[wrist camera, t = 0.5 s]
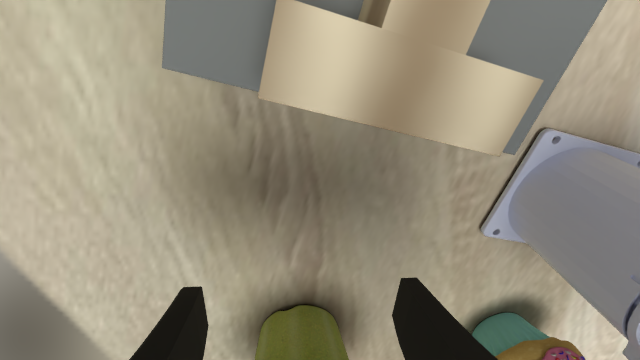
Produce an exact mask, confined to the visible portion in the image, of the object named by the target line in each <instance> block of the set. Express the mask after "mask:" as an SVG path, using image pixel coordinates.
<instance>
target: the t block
mask: <svg viewBox="0 0 640 360" xmlns="http://www.w3.org/2000/svg"><path fill="white" fill-rule="evenodd" d="M489 3H490V0H364V1H363V4H362V8H361V11H360V14H359V18H358V20H355V19H351V18H348V17H345V16H342V15H339V14H336V13H333V12H330V11H327V10H323V9H320V8H317V7H314V6H311V5H308V4H305V3H302V2H299V1H295V0H276V5H275V10H274V16H273V21H272V26H271V31H270V37H269V42H268V47H267V52H266V58H265V63H264V68H263V73H262V79H261V84H260V89H259V94H258V98H259V99H263V100H268V101H272V102H276V103H280V104H284V105H288V106H292V107H296V108H301V109H305V110H309V111H313V112H317V113H321V114H325V115H329V116H334V117H338V118H342V119H346V120H350V121H354V122H358V123H362V124H367V125H371V126H375V127H379V128H383V129H387V130H391V131H396V132H400V133H404V134H408V135H412V136H416V137H420V138H424V139H429V140H433V141H437V142H441V143H445V144H449V145H453V146H457V147H462V148H466V149H470V150H474V151H478V152H482V153H486V154H490V155H495V156H499V157H500V155H501V153H502V152H503V150H504V148H505V146H506V145H507V143H508V141H509V139H510V138H511V136H512V134H513V133H514V131H515V129H516V127H517V126H518V124H519V122H520V121H521V119H522V117H523V115H524V114H525V112H526V110H527V108H528V107H529V105H530V103H531V102H532V100H533V98H534V96H535V95H536V93H537V91H538V90H539V88H540V86H541V84H542V83H543V81H544V80H541V79H538V78H535V77H532V76H529V75H526V74H523V73H520V72H517V71H513V70H510V69H507V68H504V67H501V66H498V65H495V64H492V63H489V62H485V61H482V60H479V59H476V58H473V57H470V56H467V55H466V53H467V51H468V49H469V46H470V44H471V42H472V40H473V38H474V35H475V33H476V31H477V29H478V27H479V24H480V22H481V20H482V18H483V16H484V14H485V11H486V9H487V7H488V5H489Z"/></svg>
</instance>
